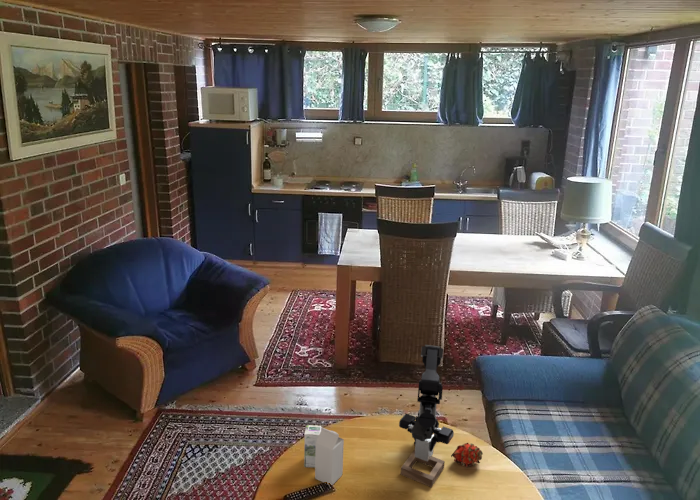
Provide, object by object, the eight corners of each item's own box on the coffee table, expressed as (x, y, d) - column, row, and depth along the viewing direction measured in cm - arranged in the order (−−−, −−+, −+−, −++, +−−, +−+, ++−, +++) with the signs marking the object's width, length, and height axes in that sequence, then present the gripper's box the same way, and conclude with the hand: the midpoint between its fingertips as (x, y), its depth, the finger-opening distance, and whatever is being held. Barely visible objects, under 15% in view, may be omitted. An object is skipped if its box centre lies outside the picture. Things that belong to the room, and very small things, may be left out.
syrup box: (320, 458, 205) (321, 424, 201) (319, 468, 200) (320, 434, 196) (305, 457, 206) (306, 423, 201) (303, 468, 200) (304, 433, 196)
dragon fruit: (484, 468, 206) (452, 472, 206) (478, 445, 211) (447, 448, 211) (487, 461, 199) (454, 465, 199) (481, 438, 204) (449, 441, 204)
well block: (414, 456, 208) (414, 449, 207) (444, 467, 203) (444, 461, 202) (400, 474, 198) (400, 467, 197) (431, 487, 193) (432, 480, 192)
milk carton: (331, 486, 191) (332, 439, 186) (314, 478, 195) (315, 432, 189) (342, 475, 197) (344, 429, 192) (326, 467, 201) (327, 422, 195)
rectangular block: (420, 449, 202) (421, 430, 199) (432, 454, 199) (434, 435, 197) (414, 456, 198) (416, 437, 195) (427, 461, 195) (429, 442, 193)
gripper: (393, 413, 191) (391, 451, 196) (444, 431, 182) (440, 470, 187) (407, 398, 200) (404, 435, 205) (456, 415, 191) (452, 453, 196)
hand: (424, 448), depth 198 cm, fingers closed on rectangular block, 5 cm apart
